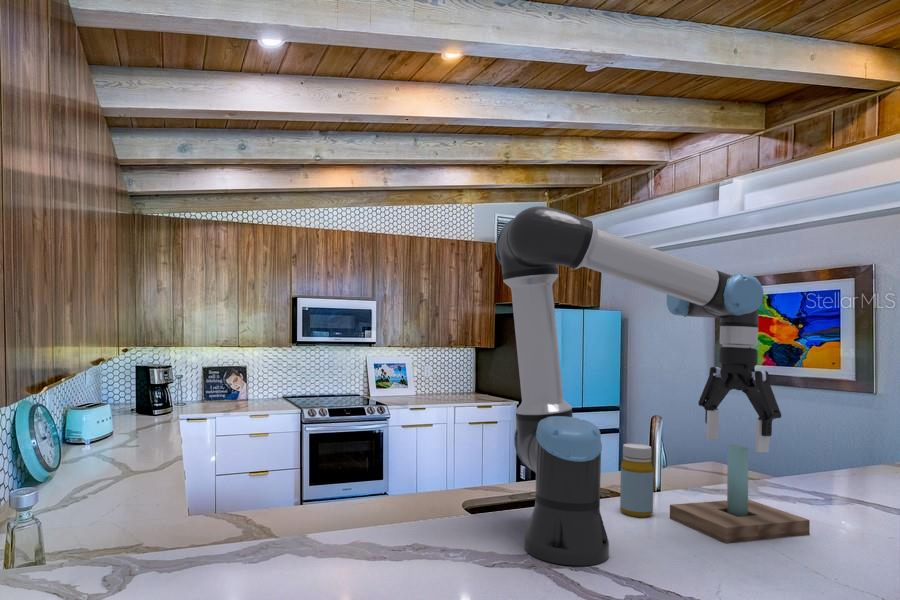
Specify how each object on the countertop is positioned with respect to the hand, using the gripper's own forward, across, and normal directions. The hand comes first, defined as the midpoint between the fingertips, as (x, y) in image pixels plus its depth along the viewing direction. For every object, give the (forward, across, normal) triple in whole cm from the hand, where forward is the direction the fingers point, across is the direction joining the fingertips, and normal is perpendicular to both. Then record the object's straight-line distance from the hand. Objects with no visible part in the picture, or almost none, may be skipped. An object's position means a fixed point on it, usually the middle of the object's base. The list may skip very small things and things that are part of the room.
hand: (736, 445), depth 127 cm
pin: (+16, 0, -1) cm, 16 cm away
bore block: (+17, 0, -1) cm, 17 cm away
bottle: (+18, +13, +15) cm, 27 cm away
